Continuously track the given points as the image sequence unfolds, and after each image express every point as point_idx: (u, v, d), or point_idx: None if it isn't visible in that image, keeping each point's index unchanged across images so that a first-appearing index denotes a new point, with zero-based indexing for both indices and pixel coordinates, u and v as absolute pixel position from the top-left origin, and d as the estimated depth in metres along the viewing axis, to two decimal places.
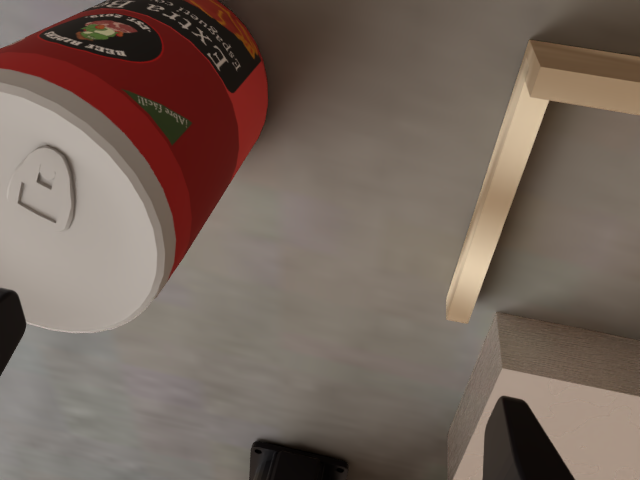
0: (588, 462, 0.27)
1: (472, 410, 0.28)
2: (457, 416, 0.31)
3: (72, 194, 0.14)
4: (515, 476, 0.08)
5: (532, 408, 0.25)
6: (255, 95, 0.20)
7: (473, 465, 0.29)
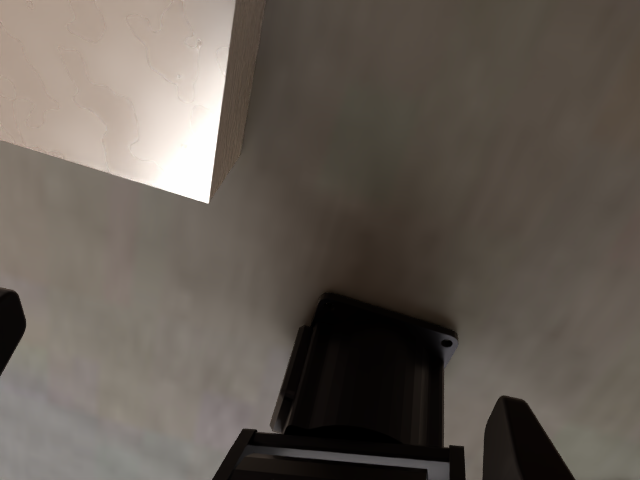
0: None
1: None
2: None
3: None
4: (515, 476, 0.08)
5: None
6: None
7: (133, 163, 0.19)
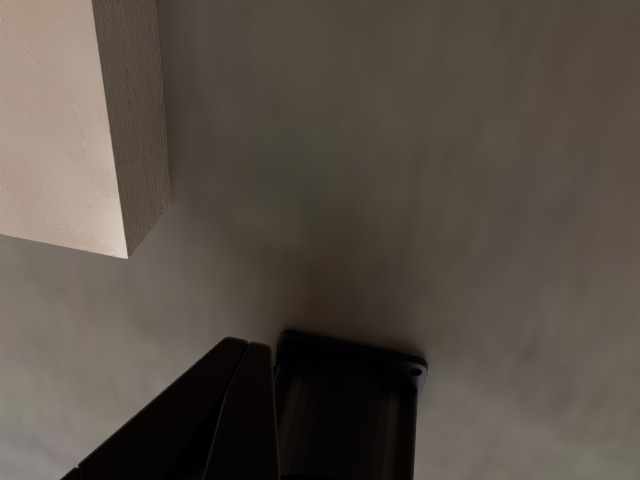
0: None
1: None
2: None
3: None
4: None
5: None
6: None
7: (47, 227, 0.18)
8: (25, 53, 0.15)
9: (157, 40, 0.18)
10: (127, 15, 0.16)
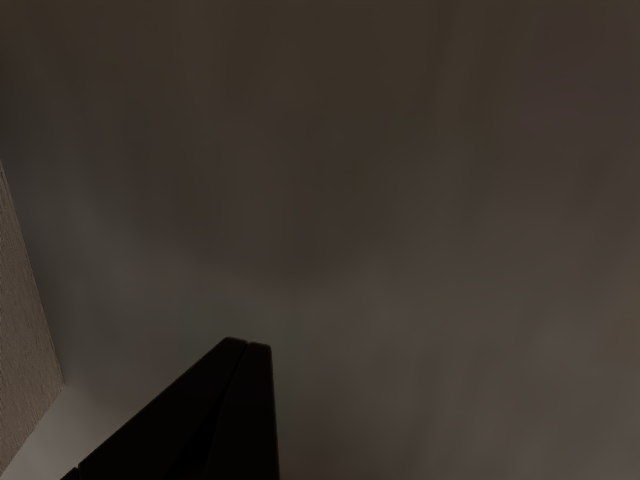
0: None
1: None
2: None
3: None
4: None
5: None
6: None
7: None
8: None
9: (2, 181, 0.11)
10: None
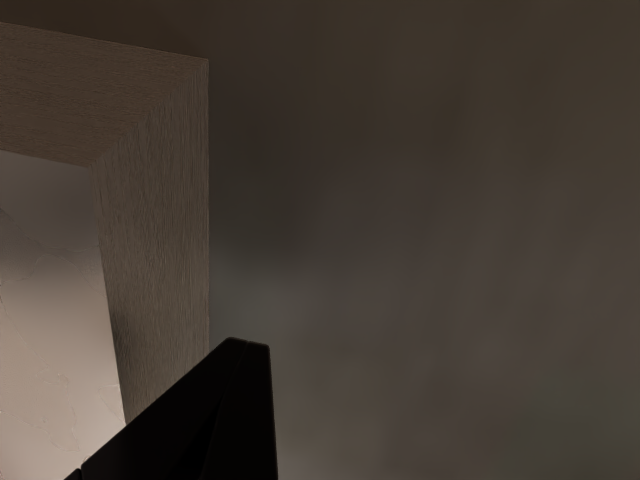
0: None
1: None
2: None
3: None
4: None
5: None
6: None
7: None
8: None
9: (205, 212, 0.10)
10: (162, 210, 0.08)
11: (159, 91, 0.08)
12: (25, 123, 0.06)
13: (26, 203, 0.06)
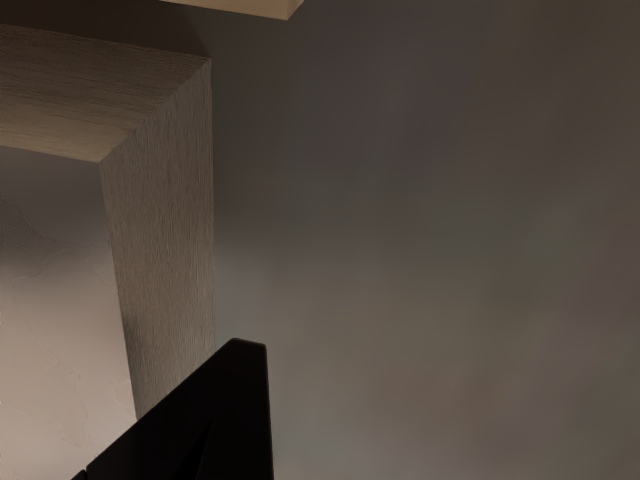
0: None
1: None
2: None
3: None
4: None
5: None
6: None
7: None
8: None
9: (211, 209, 0.10)
10: (169, 206, 0.08)
11: (166, 88, 0.08)
12: (35, 121, 0.07)
13: (38, 199, 0.06)
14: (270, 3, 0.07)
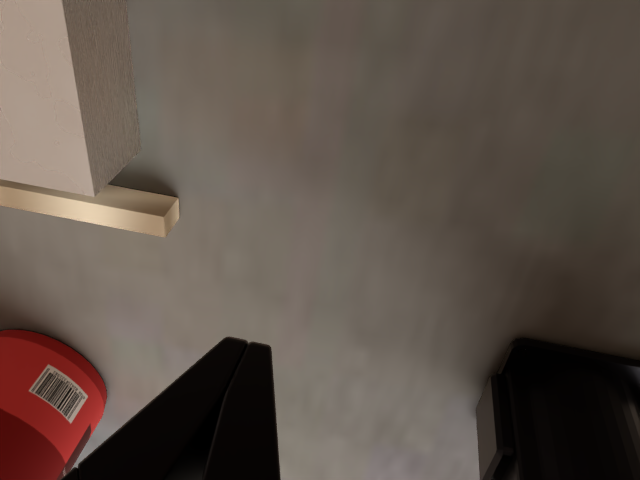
0: None
1: None
2: None
3: None
4: None
5: None
6: None
7: (17, 166, 0.19)
8: None
9: None
10: None
11: None
12: None
13: None
14: None
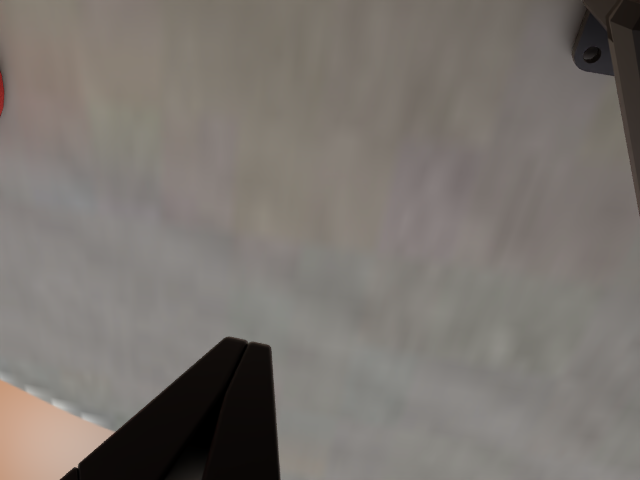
0: None
1: None
2: None
3: None
4: (220, 409, 0.08)
5: None
6: None
7: None
8: None
9: None
10: None
11: None
12: None
13: None
14: None
